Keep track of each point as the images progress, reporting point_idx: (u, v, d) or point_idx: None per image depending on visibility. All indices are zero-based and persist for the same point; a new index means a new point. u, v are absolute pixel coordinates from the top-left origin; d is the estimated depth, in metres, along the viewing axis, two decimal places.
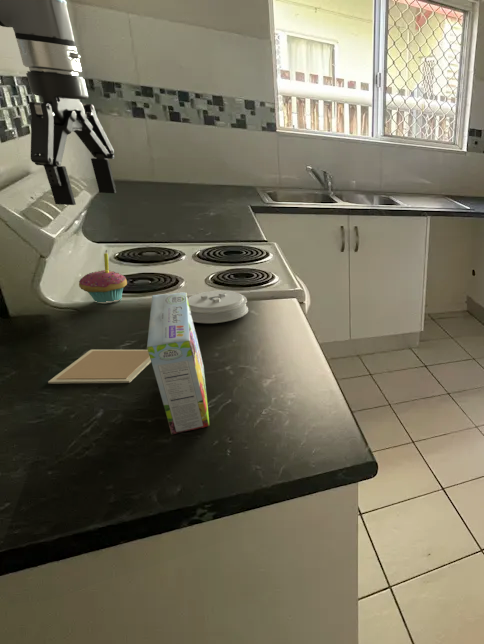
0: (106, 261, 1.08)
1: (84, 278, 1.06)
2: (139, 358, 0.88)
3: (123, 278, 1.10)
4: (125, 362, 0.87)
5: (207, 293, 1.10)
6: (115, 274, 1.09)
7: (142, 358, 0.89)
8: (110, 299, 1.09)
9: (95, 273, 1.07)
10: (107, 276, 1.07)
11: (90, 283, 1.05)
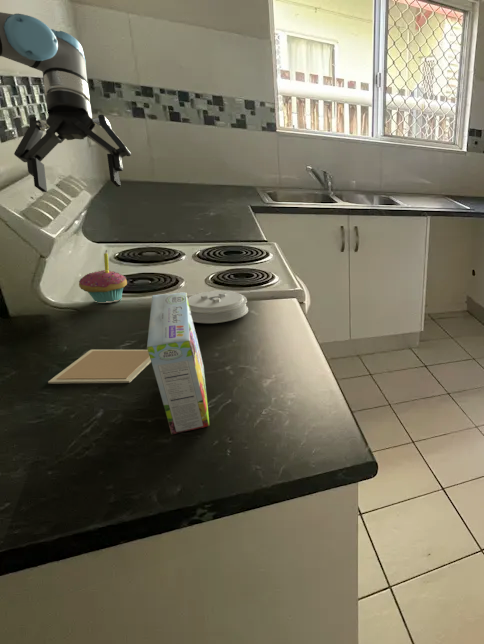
0: (106, 261, 1.08)
1: (84, 278, 1.06)
2: (139, 358, 0.88)
3: (123, 278, 1.10)
4: (125, 362, 0.87)
5: (207, 293, 1.10)
6: (115, 274, 1.09)
7: (142, 358, 0.89)
8: (110, 299, 1.09)
9: (95, 273, 1.07)
10: (107, 276, 1.07)
11: (90, 283, 1.05)
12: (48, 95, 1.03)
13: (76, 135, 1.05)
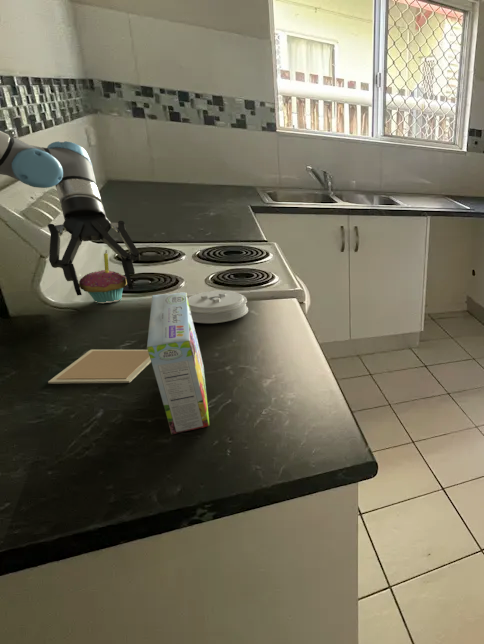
0: (106, 261, 1.08)
1: (84, 278, 1.06)
2: (139, 358, 0.88)
3: (123, 278, 1.10)
4: (125, 362, 0.87)
5: (207, 293, 1.10)
6: (115, 274, 1.09)
7: (142, 358, 0.89)
8: (110, 299, 1.09)
9: (95, 273, 1.07)
10: (107, 276, 1.07)
11: (90, 283, 1.05)
12: (68, 201, 1.07)
13: (96, 236, 1.10)
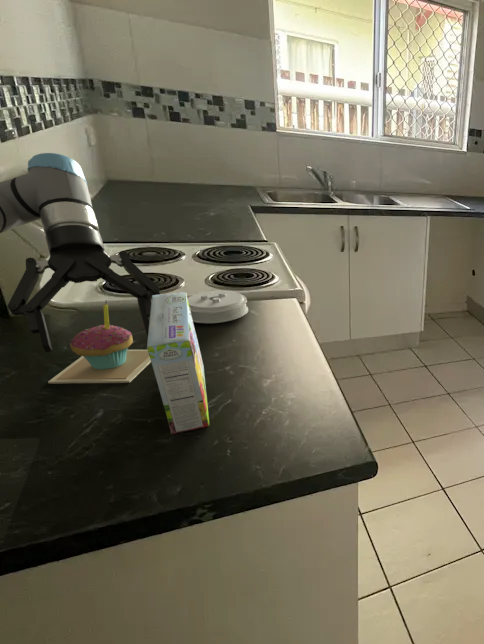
0: (106, 314, 0.82)
1: (77, 338, 0.81)
2: (139, 358, 0.88)
3: (128, 335, 0.85)
4: (125, 362, 0.87)
5: (207, 293, 1.10)
6: (118, 330, 0.84)
7: (142, 358, 0.89)
8: (111, 363, 0.84)
9: (91, 330, 0.82)
10: (108, 335, 0.82)
11: (85, 345, 0.80)
12: (55, 231, 0.82)
13: (91, 277, 0.84)
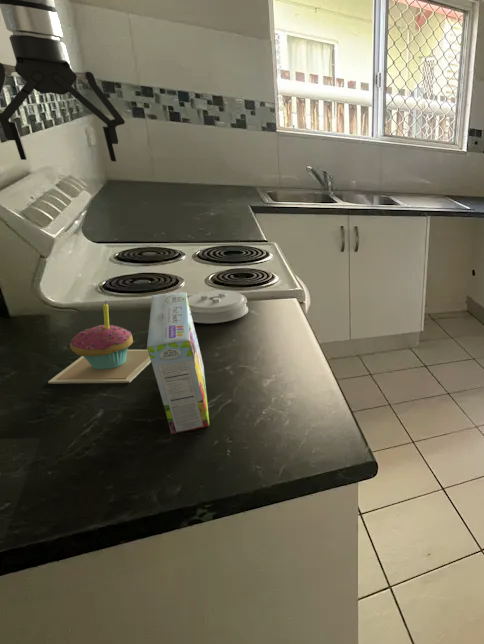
0: (106, 314, 0.82)
1: (77, 338, 0.81)
2: (139, 358, 0.88)
3: (128, 335, 0.85)
4: (125, 362, 0.87)
5: (207, 293, 1.10)
6: (118, 330, 0.84)
7: (142, 358, 0.89)
8: (111, 363, 0.84)
9: (91, 330, 0.82)
10: (108, 335, 0.82)
11: (85, 345, 0.80)
12: (21, 41, 0.84)
13: None
